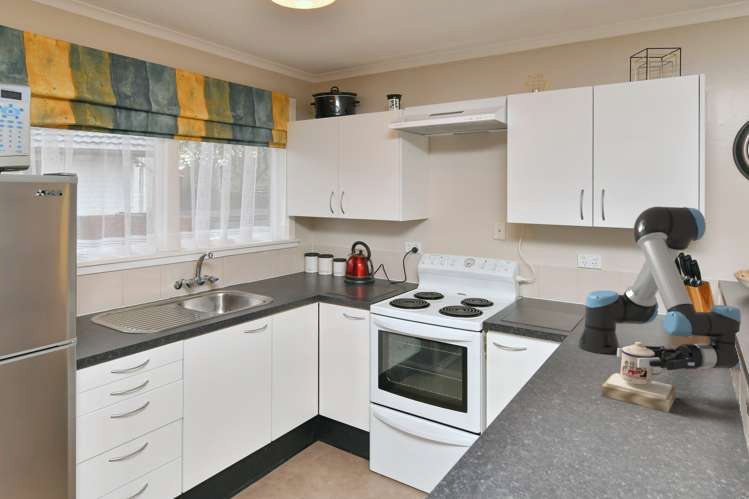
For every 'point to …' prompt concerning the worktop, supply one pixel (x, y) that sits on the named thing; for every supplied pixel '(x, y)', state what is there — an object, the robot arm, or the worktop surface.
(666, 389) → the oak tea stand
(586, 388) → the worktop surface
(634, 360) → the teacup with lid
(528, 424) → the worktop surface
